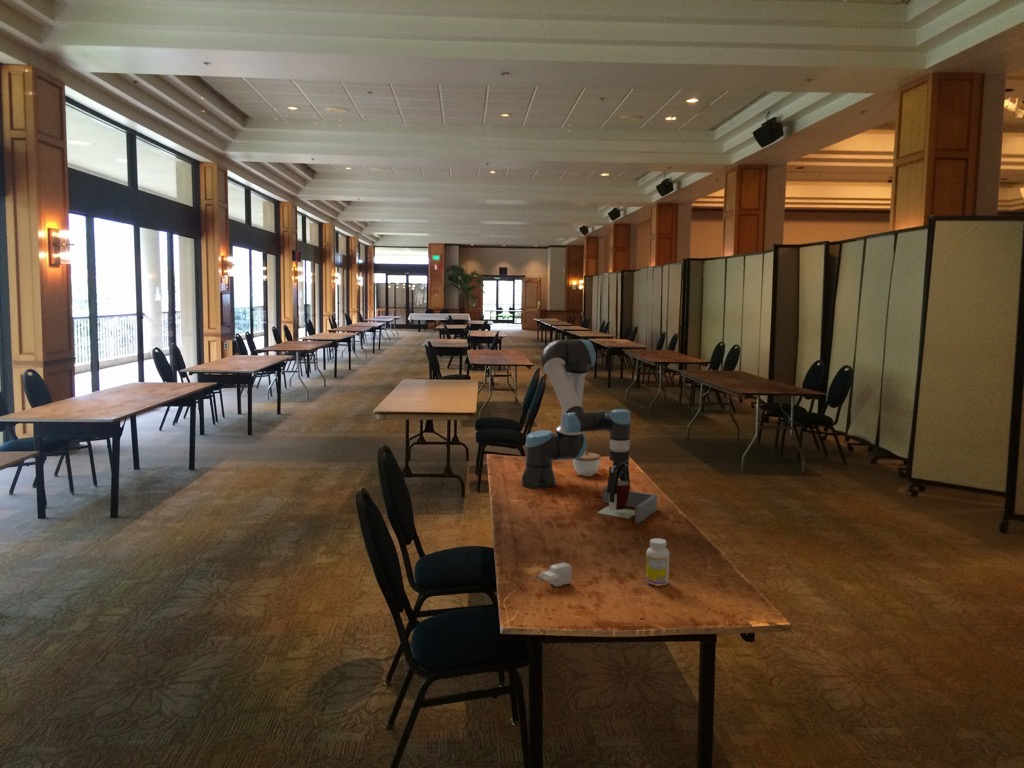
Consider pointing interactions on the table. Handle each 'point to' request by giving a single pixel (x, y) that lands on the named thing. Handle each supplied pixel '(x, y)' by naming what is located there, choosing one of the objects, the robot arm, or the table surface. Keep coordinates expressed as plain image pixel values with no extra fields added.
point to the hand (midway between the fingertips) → (618, 506)
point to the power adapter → (557, 574)
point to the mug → (622, 494)
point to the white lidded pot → (587, 464)
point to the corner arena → (641, 502)
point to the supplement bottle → (657, 562)
